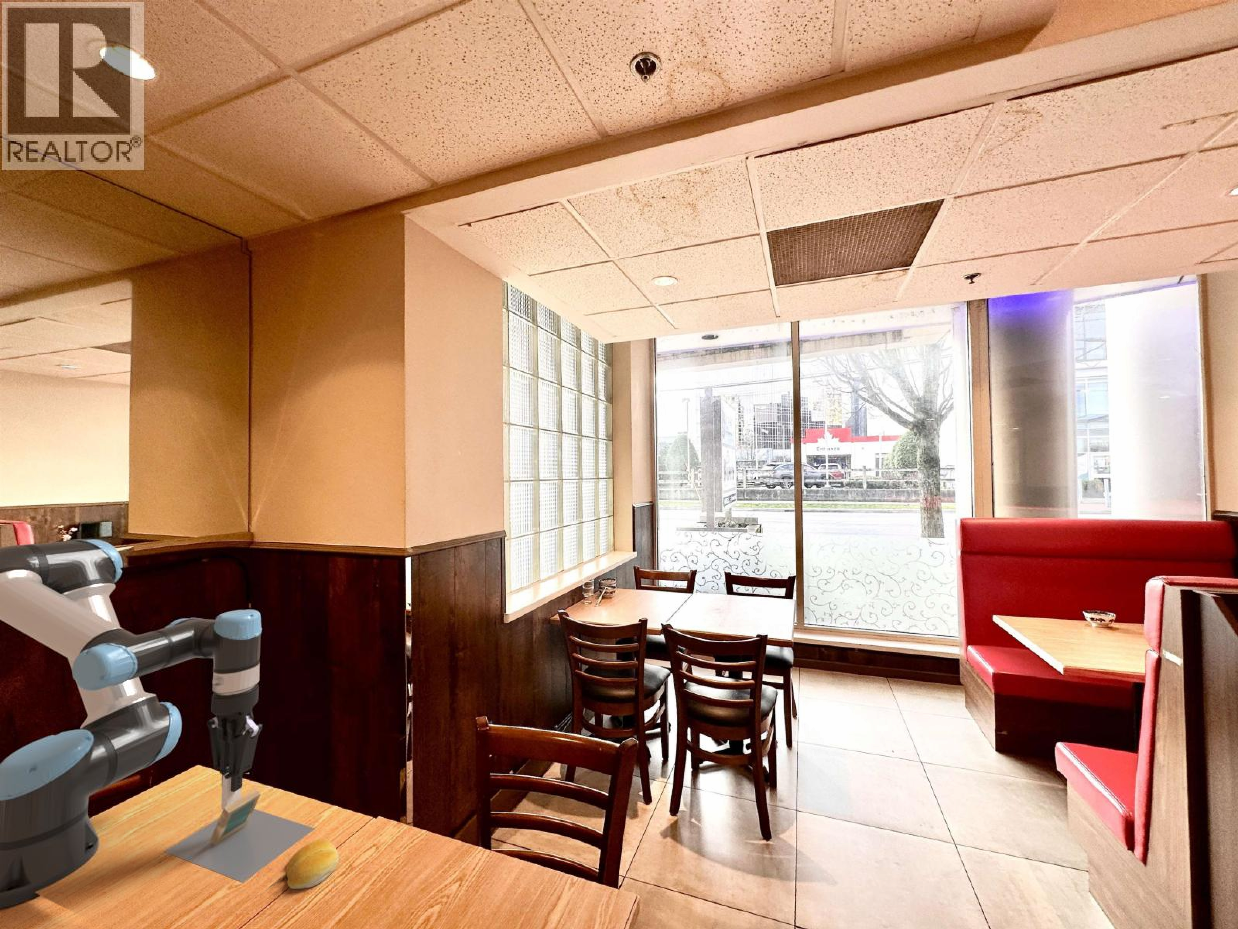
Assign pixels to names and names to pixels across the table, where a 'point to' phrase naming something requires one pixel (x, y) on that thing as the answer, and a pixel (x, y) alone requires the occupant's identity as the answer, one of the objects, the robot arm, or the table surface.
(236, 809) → the light wood flat block
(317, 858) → the bread roll
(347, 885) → the table surface
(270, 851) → the slate board
